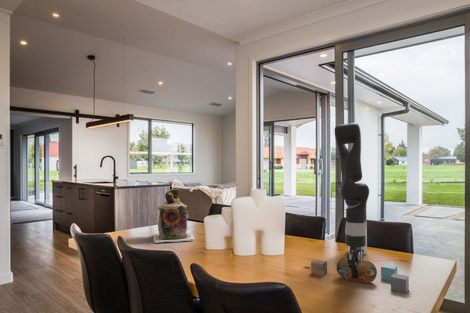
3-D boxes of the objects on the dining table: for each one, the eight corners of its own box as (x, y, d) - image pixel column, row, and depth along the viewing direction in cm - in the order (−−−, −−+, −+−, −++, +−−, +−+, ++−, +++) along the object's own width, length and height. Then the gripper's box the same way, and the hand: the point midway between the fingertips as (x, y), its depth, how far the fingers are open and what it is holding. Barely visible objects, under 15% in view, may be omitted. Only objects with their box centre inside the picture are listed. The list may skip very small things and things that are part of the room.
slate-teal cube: (384, 276, 136) (384, 263, 136) (397, 278, 133) (397, 266, 133) (381, 279, 132) (380, 266, 132) (394, 282, 129) (394, 269, 129)
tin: (336, 277, 133) (336, 257, 133) (338, 275, 136) (338, 255, 136) (376, 285, 125) (375, 263, 125) (377, 282, 127) (377, 260, 127)
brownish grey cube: (316, 271, 142) (316, 259, 142) (327, 273, 139) (327, 261, 139) (311, 274, 138) (311, 262, 138) (322, 276, 135) (322, 264, 135)
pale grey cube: (393, 286, 123) (393, 273, 124) (408, 289, 120) (408, 276, 120) (390, 290, 119) (390, 276, 120) (406, 294, 116) (405, 279, 116)
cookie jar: (151, 236, 215) (152, 187, 217) (189, 233, 223) (189, 186, 224) (154, 244, 192) (154, 189, 193) (196, 241, 199) (196, 188, 200)
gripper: (351, 229, 139) (352, 271, 138) (339, 234, 128) (340, 280, 127) (370, 231, 134) (370, 274, 133) (359, 237, 123) (360, 284, 122)
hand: (355, 277), depth 130 cm, fingers closed on tin, 2 cm apart
